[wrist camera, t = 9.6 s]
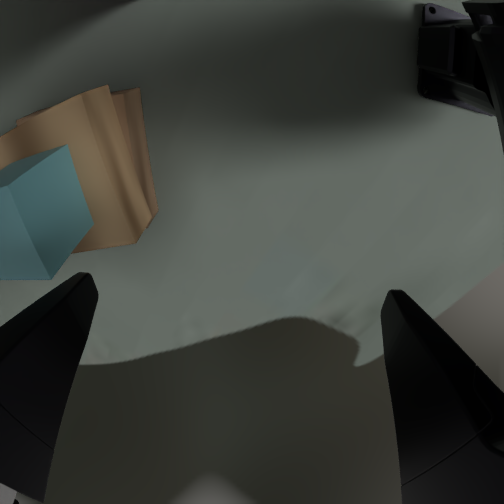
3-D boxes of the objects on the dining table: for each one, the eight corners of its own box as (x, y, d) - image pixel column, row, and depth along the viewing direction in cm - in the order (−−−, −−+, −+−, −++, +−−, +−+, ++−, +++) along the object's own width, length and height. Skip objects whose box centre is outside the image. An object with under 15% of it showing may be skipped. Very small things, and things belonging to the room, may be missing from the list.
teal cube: (67, 144, 14) (8, 185, 10) (94, 224, 17) (51, 279, 13) (11, 163, 15) (-43, 203, 11) (37, 231, 17) (-5, 279, 13)
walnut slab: (142, 86, 18) (123, 93, 15) (160, 206, 23) (147, 228, 20) (40, 109, 18) (16, 120, 16) (65, 210, 24) (47, 229, 21)
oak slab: (108, 84, 15) (80, 93, 12) (152, 217, 20) (135, 243, 18) (11, 132, 16) (-17, 147, 14) (55, 236, 21) (36, 259, 19)
